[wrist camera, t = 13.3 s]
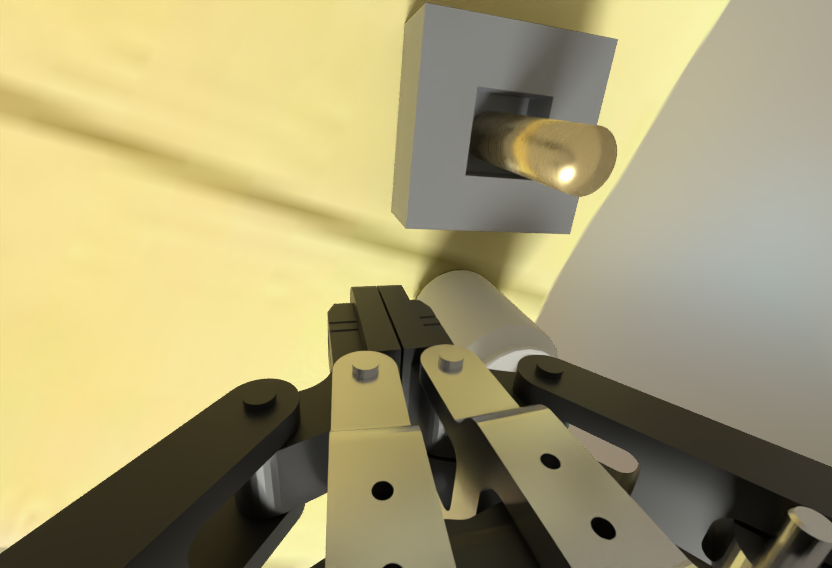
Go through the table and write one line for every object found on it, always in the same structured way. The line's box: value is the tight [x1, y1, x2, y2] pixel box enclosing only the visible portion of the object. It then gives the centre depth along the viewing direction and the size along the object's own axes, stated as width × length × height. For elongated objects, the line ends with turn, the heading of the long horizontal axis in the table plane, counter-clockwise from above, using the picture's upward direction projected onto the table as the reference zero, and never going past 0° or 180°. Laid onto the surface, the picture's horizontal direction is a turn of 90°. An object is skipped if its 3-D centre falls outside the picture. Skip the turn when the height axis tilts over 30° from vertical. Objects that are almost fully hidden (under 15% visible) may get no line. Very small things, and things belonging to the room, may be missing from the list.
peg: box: [469, 111, 617, 197], centre depth 22 cm, size 3×3×10 cm
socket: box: [391, 3, 618, 234], centre depth 26 cm, size 12×12×5 cm
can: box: [416, 270, 558, 372], centre depth 28 cm, size 8×8×12 cm
